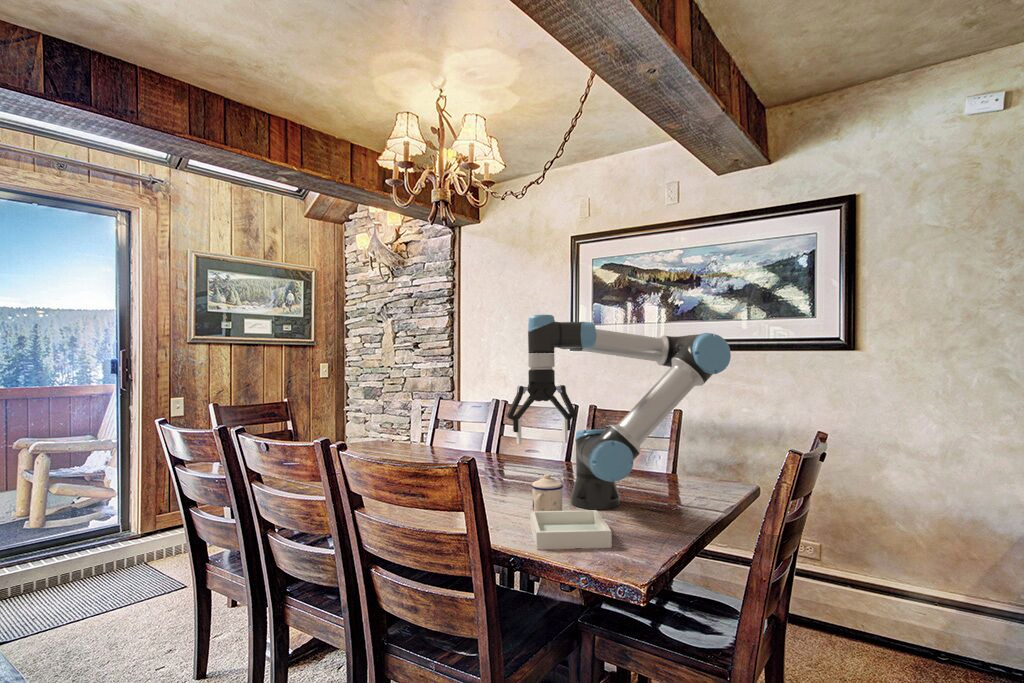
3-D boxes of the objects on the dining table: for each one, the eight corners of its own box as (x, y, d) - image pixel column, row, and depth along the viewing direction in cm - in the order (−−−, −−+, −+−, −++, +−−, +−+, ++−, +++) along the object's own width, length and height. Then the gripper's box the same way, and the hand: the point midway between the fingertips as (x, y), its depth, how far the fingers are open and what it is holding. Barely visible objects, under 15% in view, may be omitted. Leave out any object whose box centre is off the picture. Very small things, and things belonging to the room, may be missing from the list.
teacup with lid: (539, 509, 164) (539, 470, 165) (567, 513, 160) (567, 473, 161) (522, 520, 154) (521, 478, 154) (552, 524, 150) (551, 481, 150)
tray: (596, 524, 149) (596, 510, 149) (611, 547, 131) (611, 530, 131) (530, 526, 148) (530, 511, 148) (536, 549, 130) (536, 532, 130)
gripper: (578, 367, 163) (579, 439, 163) (496, 368, 158) (496, 442, 157) (587, 368, 156) (588, 443, 155) (501, 369, 150) (502, 446, 150)
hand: (542, 443), depth 156 cm, fingers open, 13 cm apart
